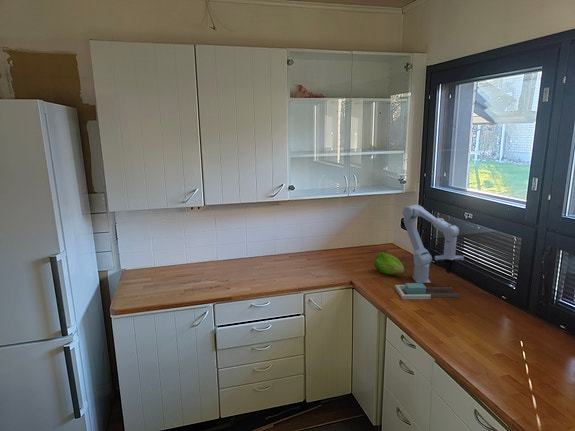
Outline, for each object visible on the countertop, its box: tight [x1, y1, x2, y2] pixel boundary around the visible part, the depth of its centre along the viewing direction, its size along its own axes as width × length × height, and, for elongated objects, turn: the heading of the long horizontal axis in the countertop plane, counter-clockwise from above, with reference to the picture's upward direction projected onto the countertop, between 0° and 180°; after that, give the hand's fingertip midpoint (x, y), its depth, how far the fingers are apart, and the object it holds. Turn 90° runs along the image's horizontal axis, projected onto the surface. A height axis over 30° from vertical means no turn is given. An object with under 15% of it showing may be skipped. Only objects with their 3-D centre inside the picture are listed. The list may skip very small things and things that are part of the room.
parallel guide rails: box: [425, 286, 460, 298], centre depth 201 cm, size 9×15×2 cm, turn 89°
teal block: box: [404, 282, 427, 295], centre depth 201 cm, size 6×9×5 cm, turn 89°
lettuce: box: [373, 252, 406, 275], centre depth 228 cm, size 14×20×12 cm
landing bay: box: [394, 284, 432, 300], centre depth 202 cm, size 14×14×2 cm
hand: (447, 272), depth 205 cm, fingers closed
